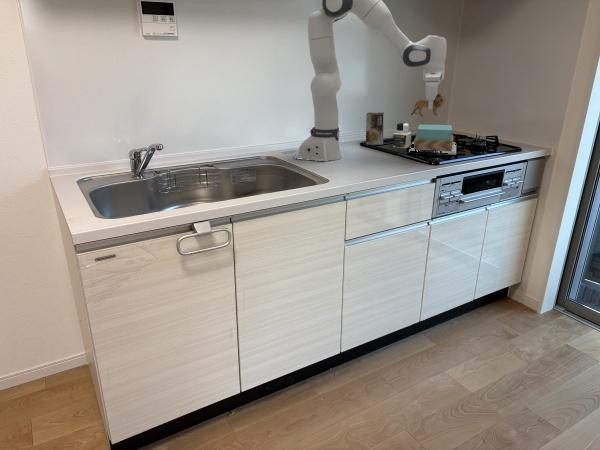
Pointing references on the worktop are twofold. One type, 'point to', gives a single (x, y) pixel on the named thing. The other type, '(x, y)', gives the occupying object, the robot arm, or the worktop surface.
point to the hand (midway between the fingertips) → (430, 108)
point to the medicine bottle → (402, 136)
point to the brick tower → (434, 139)
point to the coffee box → (374, 128)
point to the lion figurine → (422, 103)
